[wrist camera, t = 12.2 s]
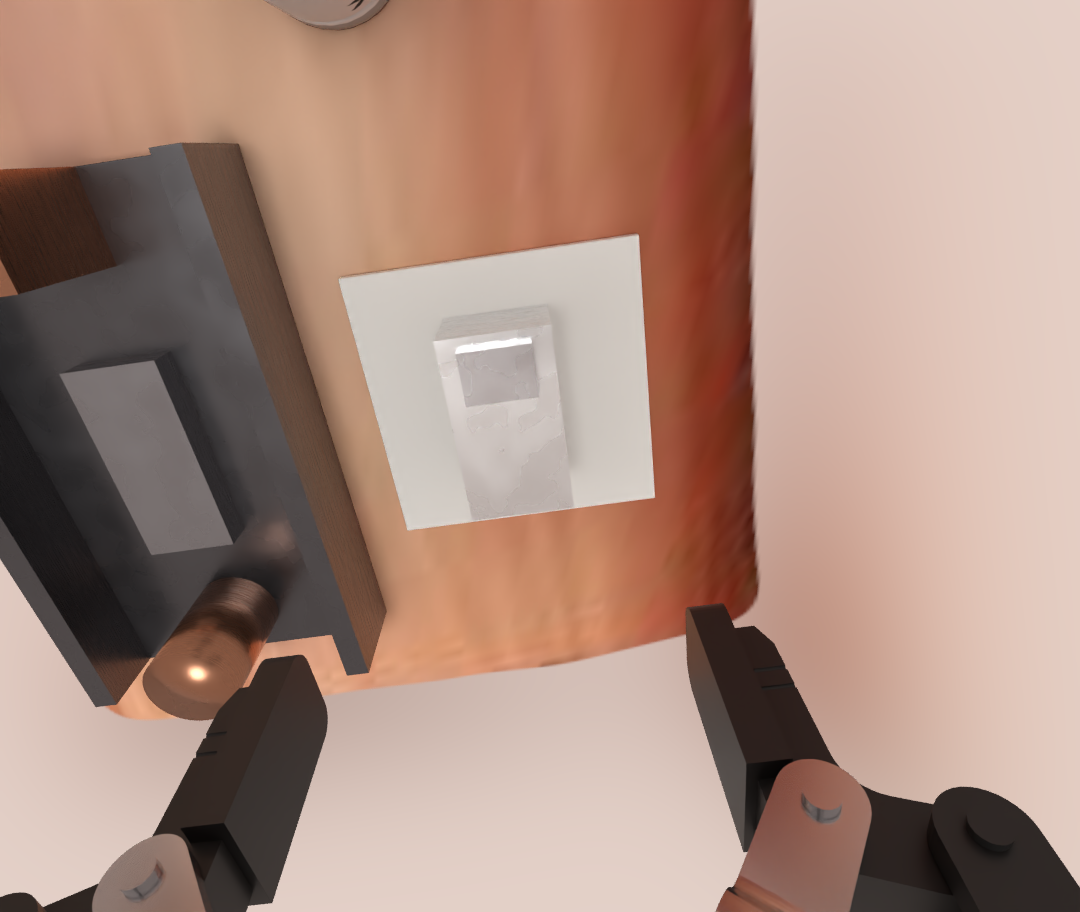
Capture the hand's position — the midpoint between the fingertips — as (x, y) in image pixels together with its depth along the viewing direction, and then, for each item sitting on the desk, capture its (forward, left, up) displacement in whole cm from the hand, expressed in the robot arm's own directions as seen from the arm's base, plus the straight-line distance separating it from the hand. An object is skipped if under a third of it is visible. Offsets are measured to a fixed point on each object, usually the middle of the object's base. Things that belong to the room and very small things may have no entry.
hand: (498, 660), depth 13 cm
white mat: (+1, -1, -20) cm, 20 cm away
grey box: (+1, -1, -20) cm, 20 cm away
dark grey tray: (-10, -15, -20) cm, 27 cm away
